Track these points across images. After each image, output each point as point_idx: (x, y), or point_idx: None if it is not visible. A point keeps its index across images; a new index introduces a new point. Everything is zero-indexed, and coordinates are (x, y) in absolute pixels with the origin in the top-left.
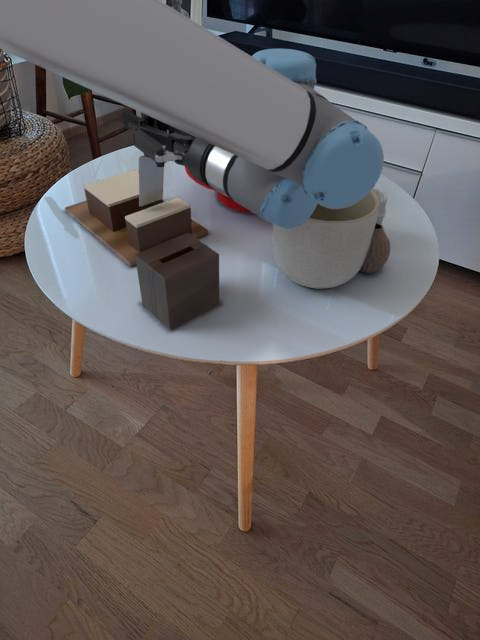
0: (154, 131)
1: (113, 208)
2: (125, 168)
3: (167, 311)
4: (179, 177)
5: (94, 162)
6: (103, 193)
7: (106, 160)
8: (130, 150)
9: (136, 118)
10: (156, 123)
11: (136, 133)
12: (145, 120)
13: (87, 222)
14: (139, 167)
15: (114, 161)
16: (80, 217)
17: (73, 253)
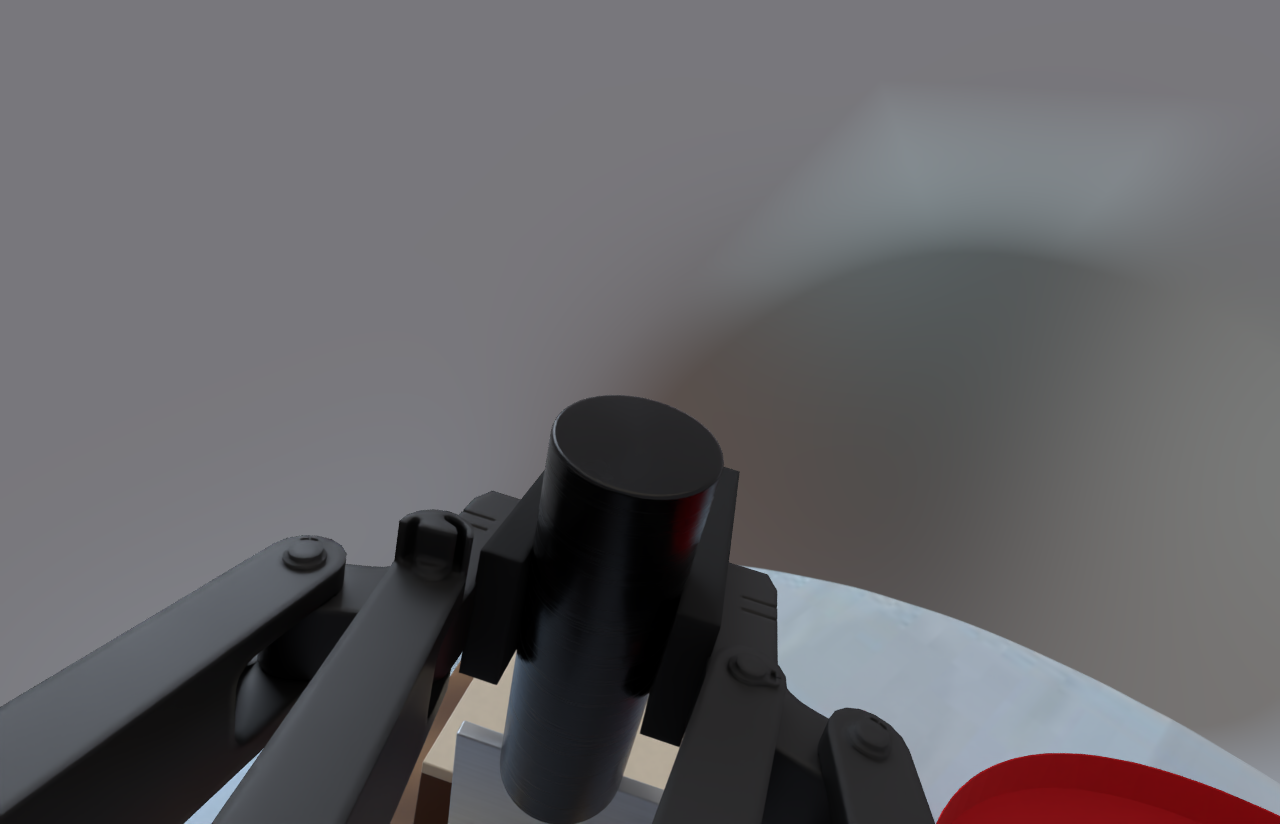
0: (309, 706)
1: (437, 789)
2: (797, 638)
3: None
4: (932, 810)
5: (745, 567)
6: (499, 693)
7: (779, 582)
8: (871, 599)
9: (525, 496)
10: (580, 623)
11: (188, 596)
12: (470, 544)
13: (429, 734)
14: (454, 774)
15: (794, 598)
16: (448, 696)
17: (209, 820)
